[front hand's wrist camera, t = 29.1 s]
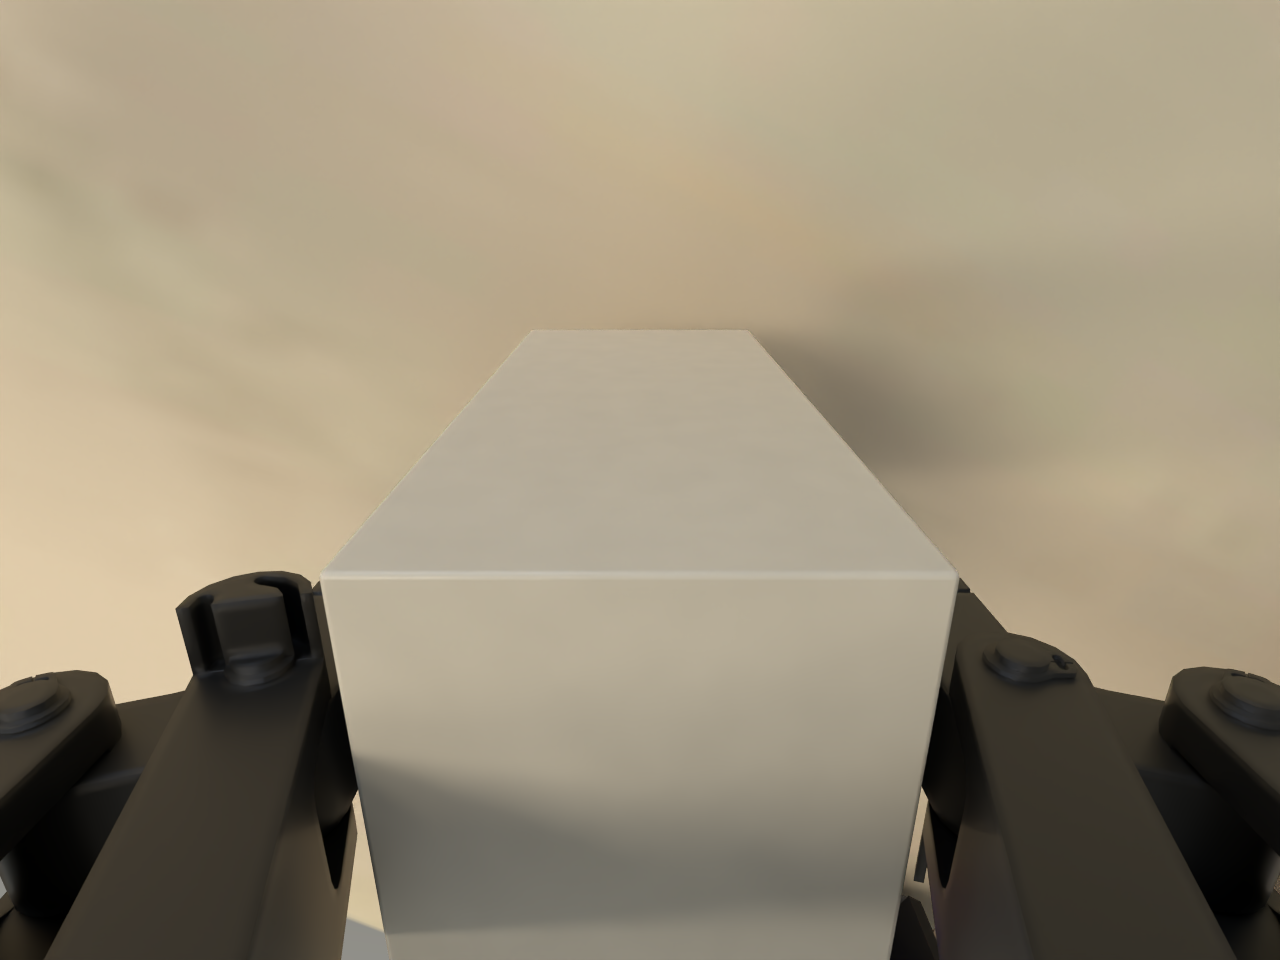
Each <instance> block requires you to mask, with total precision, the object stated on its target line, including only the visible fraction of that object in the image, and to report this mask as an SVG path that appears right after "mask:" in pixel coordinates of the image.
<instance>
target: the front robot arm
mask: <svg viewBox="0 0 1280 960" xmlns="http://www.w3.org/2000/svg"><path fill="white" fill-rule="evenodd" d="M176 613H177V616H178V620H179V624H180V628H181V631H182V635H183V639H184V642H185V646H186V650H187V654H188V657H189V661H190V665H191V668H192V672H193V677H192V678H191V680H190V682H189V684H188V686H187V688H186V690H185V691H181V692H177V693H173V694H168V695H163V696H157V697H152V698H147V699H142V700H136V701H131V702H126V703H121V704H115V701H114V698H113V695H112V692H111V689H110V686H109V683H108V680H106V679H105V678H104V677H102V676H101V675H99V674H98V673H96V672H88V671H80V670H73V671H64V672H56V673H53V672H50V673H45V674H40V675H36V677H34V678H32V677H29V678H25V679H22V680H19V681H16V682H14V683H13V684H11V685H10V686H8V687H6V688H3V689H1V690H0V877H1V879H2V881H3V883H4V886H5V888H6V890H7V892H6V893H5V894H4V895H3V896H2V898H1V899H0V960H341V955H342V947H343V940H344V932H345V925H346V917H347V909H348V902H349V894H350V886H351V879H352V871H353V863H354V856H355V848H356V840H357V827H356V820H355V815H354V809H353V804H352V801H353V799H354V797H355V795H356V792H357V790H358V785H357V780H356V774H355V769H354V764H353V758H352V753H351V747H350V742H349V736H348V731H347V725H346V720H345V715H344V709H343V704H342V698H341V693H340V687H339V682H338V676H337V671H336V666H335V660H334V655H333V649H332V644H331V638H330V633H329V628H328V622H327V617H326V611H325V606H324V600H323V595H322V589H321V584H320V581H319V582H318V583H317V584H316V585H315V586H314V588H313V589H312V586H311V582H310V581H309V580H307V579H306V578H304V577H303V576H302V575H300V574H295V573H289V572H284V571H268V572H255V573H250V574H245V575H239V576H234V577H231V578H228V579H225V580H222V581H219V582H216V583H213V584H211V585H208V586H206V587H205V588H203V589H201V590H199V591H197V592H195V593H194V594H192V595H190V596H188V597H187V598H186V599H185V600H184V601H183V602H182V603H181V604H180V605H179V606H178V607H177V608H176ZM922 788H923V790H924V792H925V794H926V796H927V798H928V804H927V809H926V815H925V820H924V825H923V830H922V836H921V841H920V846H919V852H918V857H917V862H916V868H915V875H914V881H917V882H922V883H924V878H925V873H926V868H927V869H928V877H929V885H930V892H931V900H932V908H933V915H934V923H935V930H936V938H937V946H938V953H939V960H1280V895H1279V894H1278V893H1277V891H1276V890H1275V889H1274V886H1275V884H1276V882H1277V880H1278V877H1279V875H1280V686H1279V685H1276V684H1274V683H1272V682H1270V681H1269V680H1267V679H1265V678H1263V677H1260V676H1257V675H1254V674H1251V673H1248V674H1245V672H1243V671H1238V670H1233V669H1220V668H1211V667H1197V668H1189V669H1183V670H1182V671H1180V672H1179V673H1178V674H1176V675H1175V676H1173V678H1172V681H1171V684H1170V687H1169V690H1168V693H1167V696H1166V699H1165V701H1161V700H1156V699H1150V698H1145V697H1140V696H1135V695H1129V694H1124V693H1119V692H1113V691H1108V690H1104V689H1100V688H1096V687H1093V685H1092V683H1091V681H1090V679H1089V677H1088V675H1087V674H1086V672H1085V671H1084V670H1083V669H1082V668H1081V667H1080V665H1079V664H1078V663H1077V662H1076V661H1075V660H1074V659H1073V658H1071V657H1069V656H1068V655H1066V654H1065V653H1063V652H1062V651H1060V650H1059V649H1057V648H1056V647H1053V646H1051V645H1048V644H1046V643H1043V642H1041V641H1038V640H1036V639H1033V638H1030V637H1026V636H1021V635H1017V634H1012V633H1008V632H1007V631H1006V630H1005V629H1004V628H1003V627H1002V626H1001V624H1000V623H999V622H998V621H997V620H996V619H995V617H994V616H993V615H992V614H991V613H990V612H989V610H988V609H987V608H986V607H985V606H984V605H983V604H982V602H981V601H980V600H979V599H978V598H977V597H976V595H975V594H974V593H970V588H969V587H968V586H967V585H966V584H965V583H964V581H963V580H962V579H961V578H959V584H958V590H957V595H956V601H955V606H954V612H953V617H952V623H951V628H950V633H949V639H948V644H947V650H946V655H945V661H944V666H943V672H942V677H941V683H940V688H939V694H938V699H937V704H936V710H935V715H934V721H933V726H932V732H931V737H930V743H929V748H928V754H927V759H926V764H925V770H924V775H923V781H922Z"/></svg>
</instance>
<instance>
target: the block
mask: <svg viewBox="0 0 1280 960" xmlns="http://www.w3.org/2000/svg"><path fill="white" fill-rule="evenodd" d="M320 584H321V589H322V595H323V600H324V606H325V611H326V617H327V622H328V628H329V633H330V638H331V644H332V649H333V655H334V660H335V666H336V671H337V676H338V682H339V687H340V693H341V698H342V704H343V709H344V715H345V720H346V725H347V731H348V736H349V742H350V747H351V753H352V758H353V764H354V769H355V774H356V780H357V785H358V791H359V796H360V802H361V807H362V813H363V818H364V823H365V829H366V834H367V840H368V845H369V851H370V856H371V862H372V867H373V872H374V878H375V883H376V889H377V894H378V900H379V905H380V911H381V916H382V921H383V927H384V932H385V938H386V943H387V949H388V954H389V959H390V960H890V955H891V950H892V945H893V939H894V934H895V928H896V923H897V917H898V912H899V906H900V901H901V895H902V890H903V884H904V879H905V874H906V868H907V863H908V857H909V852H910V846H911V841H912V835H913V830H914V824H915V819H916V814H917V808H918V803H919V797H920V792H921V786H922V781H923V775H924V770H925V764H926V759H927V754H928V748H929V743H930V737H931V732H932V726H933V721H934V715H935V710H936V704H937V699H938V694H939V688H940V683H941V677H942V672H943V666H944V661H945V655H946V650H947V644H948V639H949V633H950V628H951V623H952V617H953V612H954V606H955V601H956V595H957V590H958V584H959V574H958V571H957V570H956V569H955V568H954V566H953V565H952V564H951V563H950V562H949V561H948V560H947V558H946V557H945V556H944V555H943V554H942V553H941V551H940V550H939V549H938V548H937V547H936V546H935V545H934V543H933V542H932V541H931V540H930V539H929V538H928V537H927V535H926V534H925V533H924V532H923V531H922V530H921V528H920V527H919V526H918V525H917V524H916V523H915V522H914V520H913V519H912V518H911V517H910V516H909V515H908V513H907V512H906V511H905V510H904V509H903V508H902V507H901V505H900V504H899V503H898V502H897V501H896V500H895V499H894V497H893V496H892V495H891V494H890V493H889V492H888V490H887V489H886V488H885V487H884V486H883V485H882V484H881V482H880V481H879V480H878V479H877V478H876V477H875V476H874V474H873V473H872V472H871V471H870V470H869V469H868V467H867V466H866V465H865V464H864V463H863V462H862V461H861V459H860V458H859V457H858V456H857V455H856V454H855V452H854V451H853V450H852V449H851V448H850V447H849V446H848V444H847V443H846V442H845V441H844V440H843V439H842V438H841V436H840V435H839V434H838V433H837V432H836V431H835V429H834V428H833V427H832V426H831V425H830V424H829V423H828V421H827V420H826V419H825V418H824V417H823V416H822V414H821V413H820V412H819V411H818V410H817V409H816V408H815V406H814V405H813V404H812V403H811V402H810V401H809V400H808V398H807V397H806V396H805V395H804V394H803V393H802V391H801V390H800V389H799V388H798V387H797V386H796V385H795V383H794V382H793V381H792V380H791V379H790V378H789V377H788V375H787V374H786V373H785V372H784V371H783V370H782V368H781V367H780V366H779V365H778V364H777V363H776V362H775V360H774V359H773V358H772V357H771V356H770V355H769V353H768V352H767V351H766V350H765V349H764V348H763V347H762V345H761V344H760V343H759V342H758V341H757V340H756V339H755V337H754V336H753V335H752V334H751V333H750V332H749V330H531V331H530V332H529V333H528V335H527V336H526V337H525V338H524V339H523V340H522V341H521V343H520V344H519V345H518V346H517V347H516V348H515V349H514V351H513V352H512V353H511V354H510V355H509V356H508V357H507V359H506V360H505V361H504V362H503V363H502V364H501V366H500V367H499V368H498V369H497V370H496V371H495V372H494V374H493V375H492V376H491V377H490V378H489V379H488V380H487V382H486V383H485V384H484V385H483V386H482V387H481V389H480V390H479V391H478V392H477V393H476V394H475V395H474V397H473V398H472V399H471V400H470V401H469V402H468V403H467V405H466V406H465V407H464V408H463V409H462V410H461V411H460V413H459V414H458V415H457V416H456V417H455V418H454V420H453V421H452V422H451V423H450V424H449V425H448V426H447V428H446V429H445V430H444V431H443V432H442V433H441V434H440V436H439V437H438V438H437V439H436V440H435V441H434V443H433V444H432V445H431V446H430V447H429V448H428V449H427V451H426V452H425V453H424V454H423V455H422V456H421V457H420V459H419V460H418V461H417V462H416V463H415V464H414V465H413V467H412V468H411V469H410V470H409V471H408V472H407V474H406V475H405V476H404V477H403V478H402V479H401V480H400V482H399V483H398V484H397V485H396V486H395V487H394V488H393V490H392V491H391V492H390V493H389V494H388V495H387V497H386V498H385V499H384V500H383V501H382V502H381V503H380V505H379V506H378V507H377V508H376V509H375V510H374V511H373V513H372V514H371V515H370V516H369V517H368V518H367V519H366V521H365V522H364V523H363V524H362V525H361V526H360V528H359V529H358V530H357V531H356V532H355V533H354V534H353V536H352V537H351V538H350V539H349V540H348V541H347V542H346V544H345V545H344V546H343V547H342V548H341V549H340V550H339V552H338V553H337V554H336V555H335V556H334V557H333V559H332V560H331V561H330V562H329V563H328V564H327V565H326V567H325V568H324V569H323V570H322V571H321V574H320Z"/></svg>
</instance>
